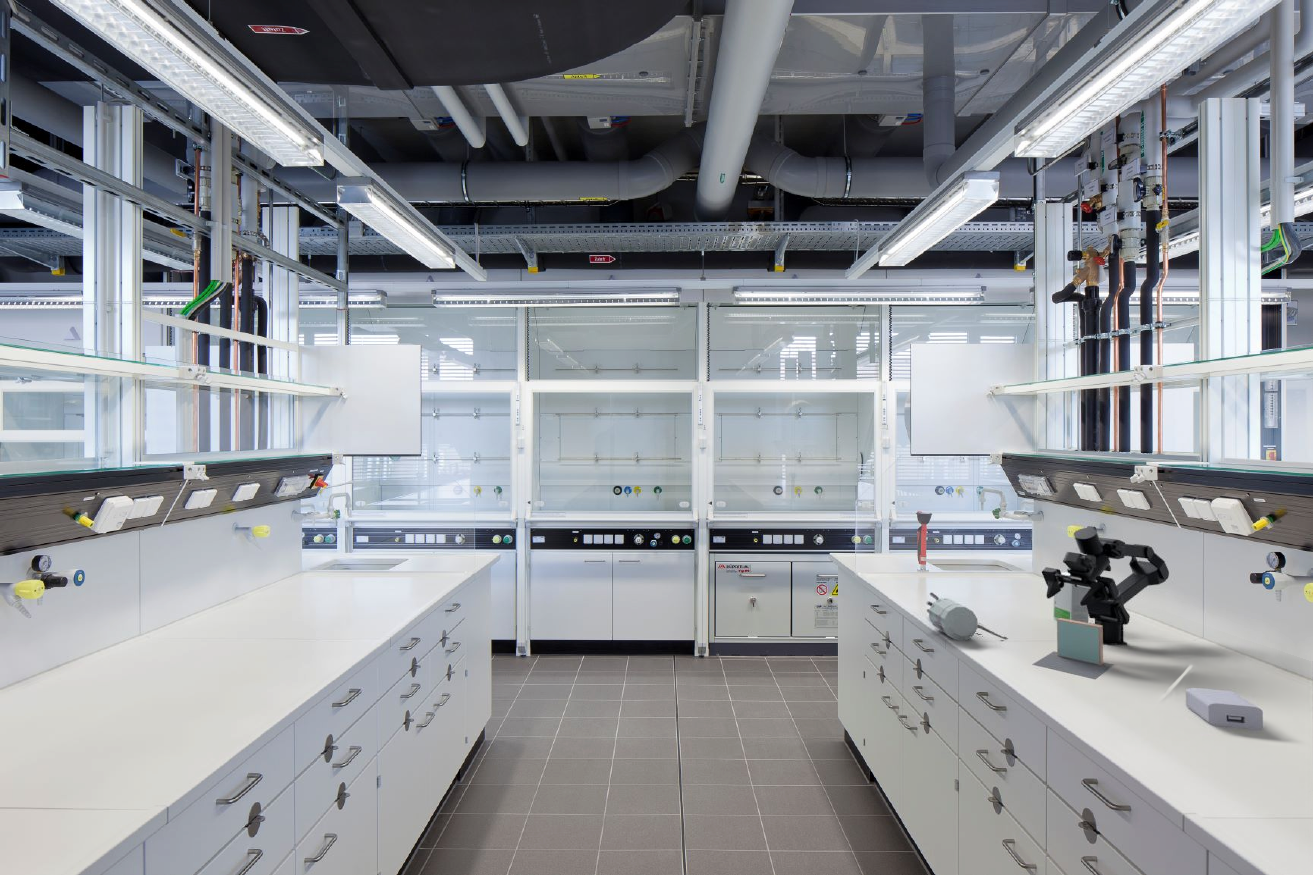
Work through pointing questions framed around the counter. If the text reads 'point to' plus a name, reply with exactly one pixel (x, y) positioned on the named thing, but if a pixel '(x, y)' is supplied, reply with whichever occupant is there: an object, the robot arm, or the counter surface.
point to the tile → (1080, 641)
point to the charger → (1224, 708)
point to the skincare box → (1070, 603)
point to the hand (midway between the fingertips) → (1063, 600)
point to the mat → (1072, 666)
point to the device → (952, 618)
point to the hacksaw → (990, 632)
